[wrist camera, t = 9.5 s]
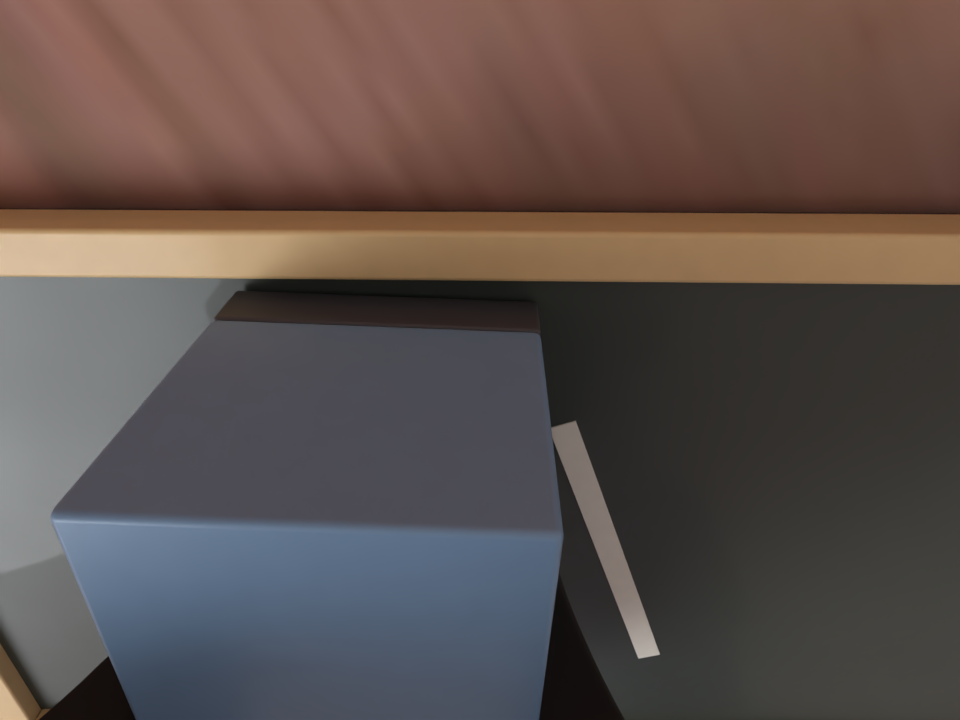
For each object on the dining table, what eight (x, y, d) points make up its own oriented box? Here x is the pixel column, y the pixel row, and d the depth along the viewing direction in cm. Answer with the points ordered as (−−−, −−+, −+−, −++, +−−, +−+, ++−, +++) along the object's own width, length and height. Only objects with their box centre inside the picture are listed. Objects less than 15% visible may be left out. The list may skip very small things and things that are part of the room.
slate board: (1000, 732, 17) (1026, 772, 16) (36, 703, 18) (12, 739, 17) (1384, 214, 10) (1470, 238, 9) (-275, 205, 10) (-343, 226, 10)
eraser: (505, 681, 15) (508, 956, 11) (304, 673, 15) (228, 944, 11) (537, 300, 10) (565, 536, 6) (235, 288, 10) (41, 515, 6)
